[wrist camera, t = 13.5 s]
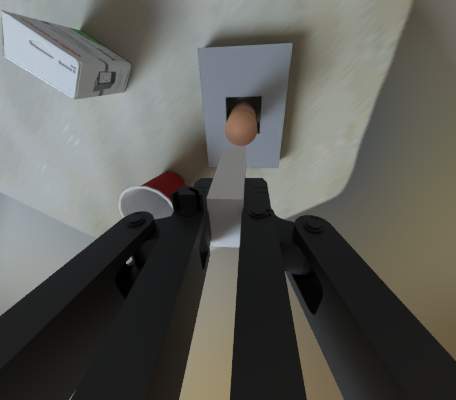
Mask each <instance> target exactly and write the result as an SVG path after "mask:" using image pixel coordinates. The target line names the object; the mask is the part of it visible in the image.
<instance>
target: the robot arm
mask: <svg viewBox="0 0 456 400" xmlns="http://www.w3.org/2000/svg"><path fill="white" fill-rule="evenodd" d="M245 174H246V147H224V149H223V152H222V155H221V158H220V161H219V163H218V166H217V169H216V172H215V175H214V178H201V179H199V180H198V181H197V182H195V184H194V186H193V187H191V186H189V187H182V188H178V189H176V190H174V191H173V192H172V193H171V194H170V197H171V201H172V206H173V210H174V211H173V213H172V215H171V216H169V217H165V218H159V219H154V217H153V215H152V214H151V213H149V212H147V211H140V212H134V213H132V214H129V215H127V216H126V217H124V218H123V219H121V220H120V221H119V222H118V223H116V224H115V225H114V226H113V227H111V228H110V229H109V230H108V231H106V232H105V233H104V234H103V235H101V236H100V237H99V238H98V239H96V240H95V241H94V242H93V243H91V244H90V245H89V246H88V247H86V248H85V249H84V250H82V251H81V252H80V253H79V254H77V255H76V256H75V257H74V258H73V259H71V260H70V261H69V262H68V263H66V264H65V265H64V266H63V267H61V268H60V269H59V270H57V271H56V272H55V273H54V274H52V275H51V276H50V277H49V278H48V279H46V280H45V281H44V282H42V283H41V284H40V285H39V286H37V287H36V288H35V289H34V290H32V291H31V292H30V293H29V294H27V295H26V296H25V297H24V298H22V299H21V300H20V301H19V302H17V303H16V304H15V305H14V306H12V307H11V308H10V309H9V310H7V311H6V312H5V313H4V314H2V315H1V316H0V400H69V399H70V397H71V396H72V394H73V393H74V392H75V393H74V395H73V396H72V398H71V400H179V397H180V392H181V387H182V383H183V379H184V374H185V369H186V365H187V360H188V355H189V350H190V346H191V341H192V337H193V332H194V327H195V323H196V317H197V313H198V308H199V303H200V299H201V295H202V290H203V285H204V281H205V276H206V271H207V267H208V262H209V257H210V248H209V245H210V241H211V244H212V246H221V247H239V262H238V278H237V294H236V311H235V327H234V343H233V360H232V376H231V391H230V400H307V398H306V393H305V386H304V381H303V375H302V369H301V363H300V358H299V352H298V346H297V341H296V334H295V329H294V323H293V317H292V311H291V306H290V300H289V294H288V288H287V282H286V277H285V271H286V274H287V276H288V278H289V281H290V283H291V285H292V287H293V290H294V292H295V294H296V296H297V298H298V300H299V303H300V305H301V307H302V309H303V311H304V313H305V316H306V318H307V320H308V322H309V324H310V326H311V329H312V331H313V333H314V335H315V337H316V339H317V341H318V344H319V346H320V348H321V350H322V352H323V355H324V357H325V359H326V361H327V363H328V365H329V368H330V370H331V372H332V374H333V376H334V378H335V381H336V383H337V385H338V387H339V389H340V391H341V394H342V396H343V398H344V400H456V361H455V360H454V359H453V358H452V357H451V355H450V354H449V353H448V352H447V351H446V350H445V349H444V348H443V347H442V346H441V345H440V343H438V341H437V340H436V339H435V338H434V337H433V336H432V335H431V334H430V333H429V331H428V330H427V329H426V328H425V327H424V326H423V325H422V324H421V323H420V321H419V320H418V319H417V318H416V317H415V316H414V315H413V314H412V313H411V312H410V311H409V309H408V308H407V307H406V306H405V305H404V304H403V303H402V302H401V301H400V300H399V299H398V297H397V296H396V295H395V294H394V293H393V292H392V291H391V290H390V289H389V288H388V287H387V285H386V284H385V283H384V282H383V281H382V280H381V279H380V278H379V277H378V275H377V274H376V273H375V272H374V271H373V270H372V269H371V268H370V267H369V266H368V265H367V263H366V262H365V261H364V260H363V259H362V258H361V257H360V256H359V255H358V254H357V253H356V251H355V250H354V249H353V248H352V247H351V246H350V245H349V244H348V243H347V242H346V241H345V239H344V238H343V237H342V236H341V235H340V234H339V233H338V232H337V231H336V229H335V228H334V227H333V226H332V225H331V224H330V223H329V222H327V221H326V220H324V219H322V218H320V217H317V216H313V215H304V216H300V217H299V218H297V219H296V220H295V222H291V221H287V220H284V219H281V218H279V217H277V216H276V215H275V213H274V211H273V210H272V209H271V206H270V199H269V193H268V186H267V182H266V181H265V180H264V179H263V178H245ZM130 257H132V259H133V260H132V261H131V262H130V263H129V264H126V261H127V260H128V259H129V258H130ZM75 390H76V391H75Z"/></svg>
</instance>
